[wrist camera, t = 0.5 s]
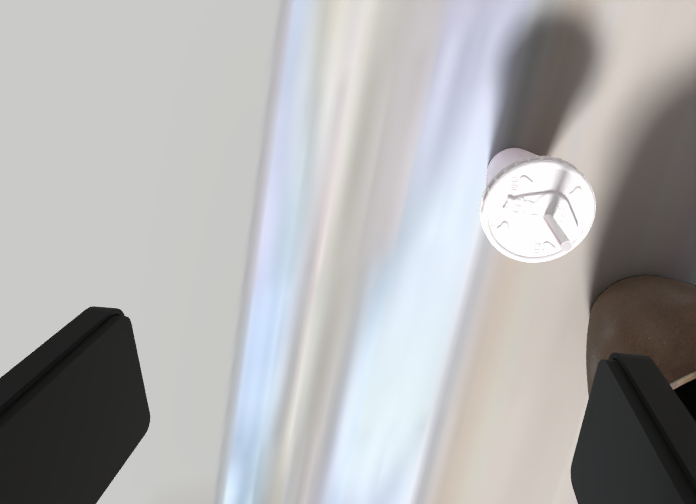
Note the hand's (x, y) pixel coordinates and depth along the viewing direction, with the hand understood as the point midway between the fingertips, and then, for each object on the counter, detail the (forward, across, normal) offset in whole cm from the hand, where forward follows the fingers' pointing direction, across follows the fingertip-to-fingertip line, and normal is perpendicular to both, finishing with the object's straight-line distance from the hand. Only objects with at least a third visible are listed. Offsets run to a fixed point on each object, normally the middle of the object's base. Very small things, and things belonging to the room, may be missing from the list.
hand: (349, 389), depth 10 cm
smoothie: (+30, -8, +3) cm, 31 cm away
